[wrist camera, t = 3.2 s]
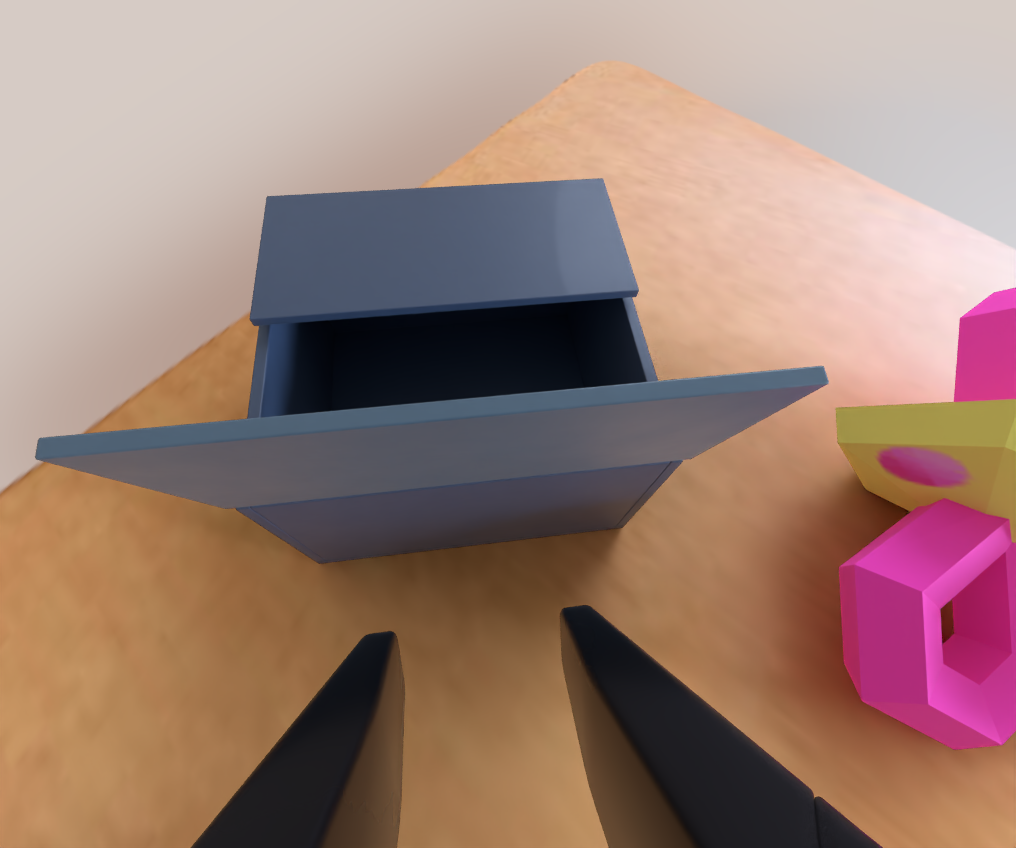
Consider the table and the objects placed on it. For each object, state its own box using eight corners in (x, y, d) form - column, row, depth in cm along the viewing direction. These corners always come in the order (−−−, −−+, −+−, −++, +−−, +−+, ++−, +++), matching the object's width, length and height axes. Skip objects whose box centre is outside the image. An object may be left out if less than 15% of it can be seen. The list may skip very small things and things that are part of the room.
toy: (699, 612, 20) (1011, 786, 10) (857, 255, 23) (1230, 121, 13) (863, 698, 23) (1248, 910, 13) (990, 366, 25) (1396, 324, 15)
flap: (688, 447, 14) (691, 459, 14) (225, 496, 13) (225, 509, 13) (824, 364, 8) (830, 383, 8) (36, 436, 7) (32, 459, 7)
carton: (623, 527, 21) (693, 451, 14) (318, 564, 20) (221, 501, 13) (572, 313, 26) (603, 176, 19) (329, 332, 25) (264, 194, 18)
